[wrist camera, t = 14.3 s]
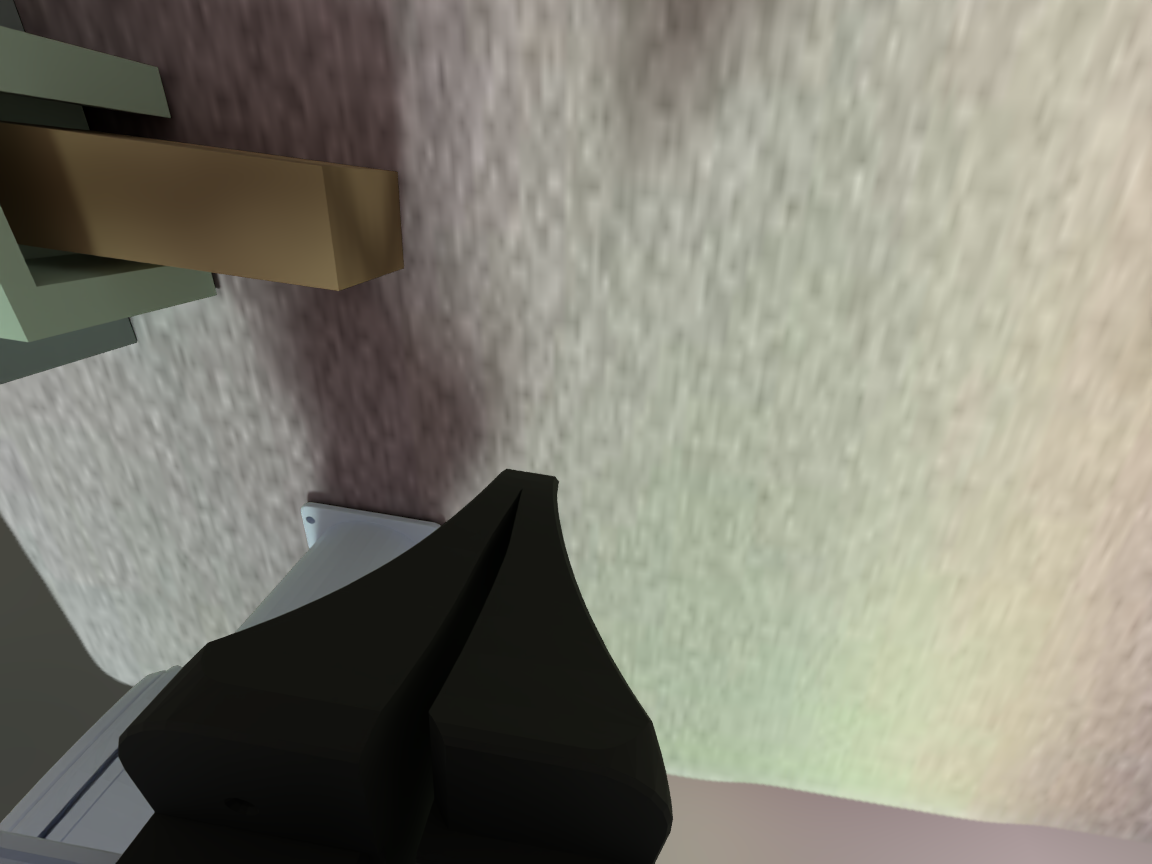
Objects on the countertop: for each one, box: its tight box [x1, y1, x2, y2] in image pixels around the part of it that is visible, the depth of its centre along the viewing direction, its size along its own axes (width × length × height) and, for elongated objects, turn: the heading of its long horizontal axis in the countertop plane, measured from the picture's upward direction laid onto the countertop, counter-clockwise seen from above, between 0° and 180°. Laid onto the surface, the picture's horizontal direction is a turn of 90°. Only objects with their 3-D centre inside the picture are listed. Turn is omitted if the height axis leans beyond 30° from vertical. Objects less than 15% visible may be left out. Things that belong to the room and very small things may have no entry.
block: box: [0, 26, 217, 342], centre depth 15 cm, size 8×5×7 cm, turn 173°
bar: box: [0, 120, 404, 291], centre depth 16 cm, size 4×12×5 cm, turn 83°
